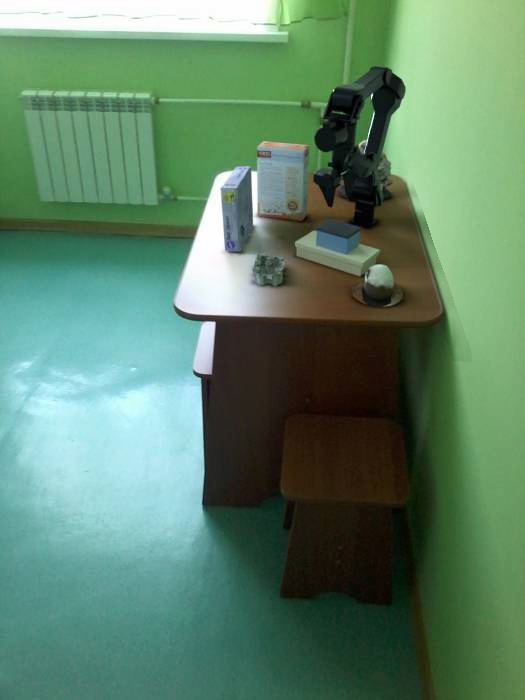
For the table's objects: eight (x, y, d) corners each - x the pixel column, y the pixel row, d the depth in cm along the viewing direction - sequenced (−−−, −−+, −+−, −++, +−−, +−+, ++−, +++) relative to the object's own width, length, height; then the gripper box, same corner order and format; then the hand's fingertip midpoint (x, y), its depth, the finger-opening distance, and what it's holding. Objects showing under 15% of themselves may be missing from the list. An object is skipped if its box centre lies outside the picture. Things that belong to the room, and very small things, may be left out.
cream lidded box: (313, 243, 170) (313, 230, 168) (378, 263, 160) (380, 249, 158) (294, 255, 164) (295, 241, 162) (361, 277, 154) (362, 262, 152)
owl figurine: (333, 200, 196) (337, 145, 186) (334, 187, 205) (338, 134, 195) (391, 202, 194) (398, 147, 184) (389, 189, 203) (396, 136, 194)
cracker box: (307, 214, 186) (310, 144, 174) (302, 222, 182) (304, 150, 170) (263, 208, 190) (263, 139, 178) (256, 216, 185) (256, 145, 173)
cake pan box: (238, 223, 181) (236, 163, 171) (255, 224, 180) (254, 164, 170) (222, 252, 166) (219, 188, 156) (240, 253, 165) (239, 189, 155)
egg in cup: (346, 276, 152) (377, 248, 148) (374, 302, 156) (406, 276, 151) (348, 299, 142) (382, 270, 138) (378, 327, 146) (413, 299, 141)
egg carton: (282, 287, 150) (282, 272, 148) (251, 285, 151) (251, 270, 149) (285, 266, 159) (286, 252, 157) (256, 264, 160) (256, 250, 157)
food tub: (328, 236, 164) (329, 218, 161) (359, 245, 160) (361, 227, 157) (314, 245, 160) (315, 227, 157) (346, 255, 155) (348, 236, 152)
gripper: (353, 157, 144) (348, 220, 153) (390, 138, 156) (383, 197, 165) (313, 148, 150) (310, 210, 159) (351, 130, 162) (347, 188, 171)
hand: (339, 201), depth 163 cm, fingers open, 9 cm apart
